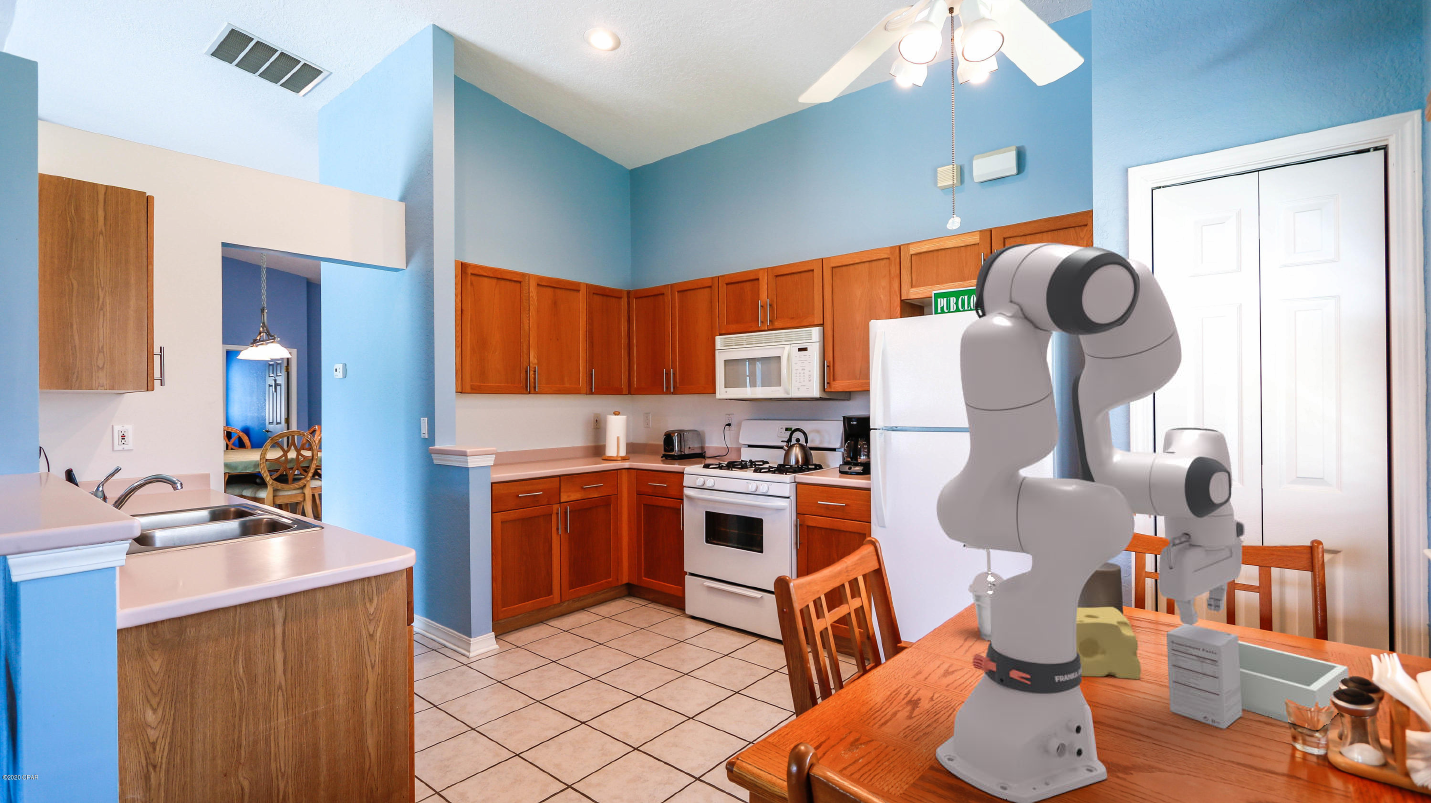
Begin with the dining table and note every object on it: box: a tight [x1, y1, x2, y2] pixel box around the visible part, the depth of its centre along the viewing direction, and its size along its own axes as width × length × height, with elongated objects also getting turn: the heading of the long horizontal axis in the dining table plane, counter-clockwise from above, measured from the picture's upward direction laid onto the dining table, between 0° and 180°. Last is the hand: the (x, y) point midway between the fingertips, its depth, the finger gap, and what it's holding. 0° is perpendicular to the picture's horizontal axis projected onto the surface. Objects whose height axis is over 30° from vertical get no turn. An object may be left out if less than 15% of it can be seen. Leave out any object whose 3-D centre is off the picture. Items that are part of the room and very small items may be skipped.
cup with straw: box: [963, 543, 1005, 642], centre depth 135 cm, size 8×9×20 cm
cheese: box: [1076, 607, 1142, 680], centre depth 118 cm, size 10×11×10 cm
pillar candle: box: [1077, 561, 1124, 615], centre depth 139 cm, size 10×10×15 cm
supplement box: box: [1166, 623, 1243, 730], centre depth 99 cm, size 7×7×13 cm
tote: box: [1238, 640, 1349, 724], centre depth 103 cm, size 15×15×6 cm
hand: (1202, 616), depth 100 cm, fingers open, 8 cm apart
